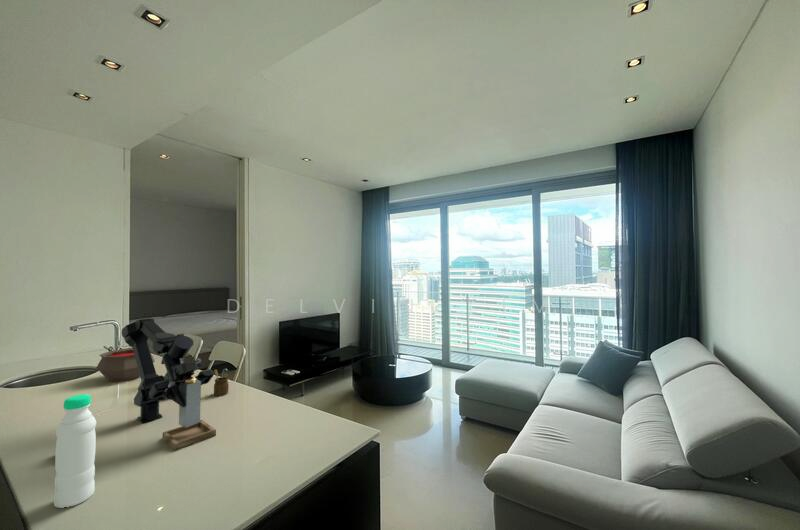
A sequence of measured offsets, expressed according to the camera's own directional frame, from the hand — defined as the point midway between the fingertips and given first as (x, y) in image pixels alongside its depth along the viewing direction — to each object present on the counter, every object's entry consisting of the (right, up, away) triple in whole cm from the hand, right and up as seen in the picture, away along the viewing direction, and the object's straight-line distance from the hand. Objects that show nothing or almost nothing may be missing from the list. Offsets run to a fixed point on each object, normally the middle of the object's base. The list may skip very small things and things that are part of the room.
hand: (192, 404), depth 109 cm
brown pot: (-76, -13, +63) cm, 99 cm away
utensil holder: (-12, -13, +40) cm, 43 cm away
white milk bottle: (-10, -11, -30) cm, 33 cm away
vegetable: (-34, -13, +40) cm, 54 cm away
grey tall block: (-1, -7, +1) cm, 7 cm away
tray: (-1, -11, 0) cm, 11 cm away
